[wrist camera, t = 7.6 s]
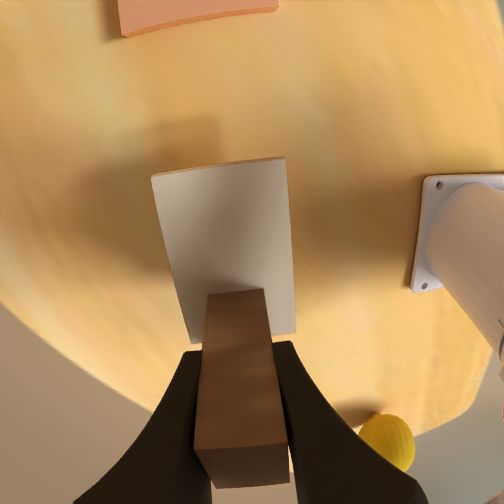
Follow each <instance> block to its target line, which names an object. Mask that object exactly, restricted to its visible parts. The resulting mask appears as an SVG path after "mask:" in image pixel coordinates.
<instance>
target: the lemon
mask: <svg viewBox="0 0 504 504" xmlns="http://www.w3.org/2000/svg"><path fill="white" fill-rule="evenodd" d="M358 436H359V437H360V438H361V439H362V440H364V441H365V442H366V443H367V444H368V445H369V446H370V447H372V448H373V449H374V450H375V451H376V452H377V453H379V454H380V455H381V456H382V457H384V458H385V459H386V460H387V461H389V462H390V463H391V464H393V465H394V466H396V467H397V468H398V469H400V470H401V471H403V472H405V471H406V470H407V469H408V468H409V467H410V465H411V463H412V461H413V459H414V455H415V445H414V440H413V436H412V433H411V430H410V428H409V427H408V425H407V424H406V423H405V422H404V421H403V420H402V419H400V418H399V417H397V416H394V415H390V414H384V415H381V414H377V413H376V414H373V415H372V417H371V418H370V420H369V421H367V422H366V423H365V424H364V425H363V427H362V428H361V430H360V432H359V434H358Z"/></svg>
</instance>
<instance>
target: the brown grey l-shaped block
mask: <svg viewBox="0 0 504 504" xmlns="http://www.w3.org/2000/svg"><path fill="white" fill-rule="evenodd" d="M150 178H151V183H152V188H153V193H154V198H155V203H156V208H157V212H158V217H159V222H160V226H161V231H162V235H163V239H164V244H165V248H166V252H167V256H168V260H169V264H170V268H171V272H172V276H173V280H174V284H175V288H176V291H177V295H178V299H179V303H180V306H181V310H182V314H183V317H184V321H185V324H186V328H187V331H188V334H189V338H190V341H191V344H198V343H202V362H201V372H200V377H199V386H198V398H197V410H196V423H195V437H194V451H195V453H196V454H197V456H198V458H199V460H200V462H201V463H202V465H203V467H204V469H205V470H206V472H207V474H208V476H209V477H210V479H211V481H212V482H213V484H214V486H215V487H216V489H218V488H219V489H221V488H241V487H255V486H266V485H275V484H284V483H290V476H289V456H288V440H287V434H286V427H285V421H284V414H283V408H282V401H281V395H280V389H279V382H278V376H277V371H276V367H275V363H274V357H273V350H272V344H271V343H272V338H271V336H273V335H281V334H288V333H295V332H296V318H295V295H294V275H293V257H292V240H291V225H290V211H289V197H288V184H287V171H286V160H285V158H284V157H273V158H263V159H254V160H245V161H237V162H229V163H222V164H214V165H207V166H200V167H194V168H187V169H181V170H175V171H169V172H163V173H157V174H154V175H153V176H151V177H150Z"/></svg>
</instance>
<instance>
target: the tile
mask: <svg viewBox="0 0 504 504" xmlns="http://www.w3.org/2000/svg"><path fill="white" fill-rule="evenodd" d="M117 1H118V10H119V19H120V27H121V34H122V35H123V36H125V37H128V38H130V37H134V36H137V35H141V34H144V33H148V32H152V31H156V30H160V29H164V28H168V27H173V26H177V25H182V24H187V23H192V22H197V21H203V20H208V19H215V18H221V17H228V16H236V15H245V14H254V13H266V12H276V10H277V8H278V7H279V5H278V0H117Z"/></svg>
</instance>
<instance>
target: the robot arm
mask: <svg viewBox="0 0 504 504" xmlns="http://www.w3.org/2000/svg"><path fill="white" fill-rule="evenodd" d="M438 182H440V184H439V186H438V187H436V185H437V183H438ZM424 283H425V284H424ZM423 284H424V285H423ZM422 285H423V286H422ZM442 287H445V288H446V290H447V291H448V292H449V293H450V294H451V296H452V297H453V298H454V299H455V300H456V302H457V303H458V304H459V305H460V307H461V308H462V309H463V310H464V312H465V313H466V314H467V315H468V317H469V318H470V319H471V321H472V322H473V323H474V324H475V326H476V327H477V328H478V330H479V331H480V332H481V334H482V335H483V336H484V338H485V339H486V340H487V342H488V343H489V344H490V346H491V347H492V349H493V350H494V351H495V353H496V354H497V356H498V357H499V358H500V360H501V361H502V364H503V365H502V369H501V371H500V373H499V376H500V377H501V379H502V380H503V382H504V174H462V175H436V176H428V177H427V178H425V180H424V182H423V192H422V203H421V214H420V223H419V231H418V239H417V246H416V253H415V260H414V266H413V272H412V278H411V283H410V289H411V290H412V292H414V293H419V292H424V291H429V290H433V289H438V288H442ZM271 344H272V350H273V357H274V363H275V367H276V371H277V376H278V382H279V389H280V395H281V401H282V408H283V414H284V421H285V427H286V434H287V440H288V446H289V450H290V454H291V458H292V463H293V470H294V476H295V484H296V491H297V498H298V504H428V500H427V497H426V495H425V493H424V492H423V490H422V488H421V486H420V485H419V483H418V482H417V480H415V479H414V478H412V477H410V476H409V475H407V474H406V473H404V472H403V471H401V470H400V469H398V468H397V467H396V466H394V465H393V464H391V463H390V462H389V461H387V460H386V459H385V458H384V457H382V456H381V455H380V454H379V453H377V452H376V451H375V450H374V449H373V448H372V447H370V446H369V445H368V444H367V443H366V442H365V441H364V440H362V439H361V438H360V437H359V436H358V435H357V434H356V433H355V432H354V431H353V430H352V429H351V428H350V427H349V426H348V425H347V424H346V423H345V422H344V420H343V419H342V418H341V417H340V416H339V415H338V414H337V413H336V411H335V410H334V409H333V408H332V407H331V405H330V404H329V403H328V401H327V400H326V399H325V398H324V396H323V395H322V393H321V392H320V391H319V389H318V388H317V386H316V385H315V383H314V382H313V380H312V379H311V377H310V376H309V374H308V373H307V371H306V369H305V368H304V366H303V364H302V362H301V361H300V359H299V357H298V355H297V353H296V351H295V348H294V346H293V343H292V342H291V341H282V342H275V343H271ZM201 362H202V350H199V351H186V352H185V353H184V354H183V356H182V358H181V361H180V363H179V365H178V367H177V370H176V372H175V374H174V376H173V378H172V380H171V382H170V384H169V386H168V388H167V390H166V392H165V394H164V396H163V397H162V399H161V401H160V403H159V405H158V406H157V408H156V410H155V411H154V413H153V415H152V416H151V418H150V420H149V421H148V423H147V424H146V426H145V427H144V429H143V430H142V432H141V433H140V435H139V436H138V437H137V439H136V440H135V441H134V443H133V444H132V445H131V446H130V448H129V449H128V450H127V451H126V452H125V454H124V455H123V456H122V457H121V458H120V460H119V461H118V462H117V463H116V464H115V465H114V466H113V467H112V468H111V469H110V470H109V471H108V472H107V473H106V474H105V475H104V476H103V477H102V478H101V479H100V480H99V481H98V482H97V483H96V484H95V485H93V486H92V487H91V488H90V489H89V490H87V491H86V492H85V493H84V494H82V495H81V496H80V497H79V498H77V499H76V500H75V501H74V502H73V504H212V495H211V479H210V477H209V476H208V474H207V472H206V470H205V469H204V467H203V465H202V463H201V462H200V460H199V458H198V456H197V454H196V453H195V451H194V437H195V423H196V410H197V398H198V386H199V377H200V372H201ZM502 416H503V423H504V399H503V406H502ZM484 504H504V490H503V491H501V492H499V493H498V494H497V495H495V496H493V497H492V498H491V499H489V500H488V501H487V502H485V503H484Z"/></svg>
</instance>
